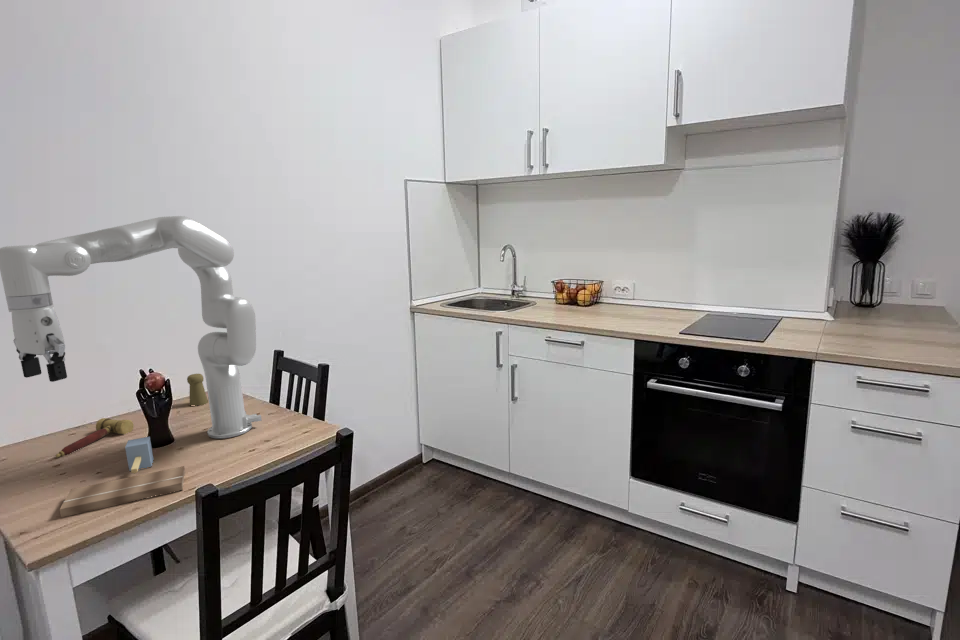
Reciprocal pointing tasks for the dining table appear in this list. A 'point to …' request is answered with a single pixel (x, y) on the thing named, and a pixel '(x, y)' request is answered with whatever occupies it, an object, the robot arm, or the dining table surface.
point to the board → (122, 491)
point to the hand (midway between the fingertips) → (45, 377)
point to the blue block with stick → (139, 454)
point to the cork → (197, 390)
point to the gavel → (99, 433)
